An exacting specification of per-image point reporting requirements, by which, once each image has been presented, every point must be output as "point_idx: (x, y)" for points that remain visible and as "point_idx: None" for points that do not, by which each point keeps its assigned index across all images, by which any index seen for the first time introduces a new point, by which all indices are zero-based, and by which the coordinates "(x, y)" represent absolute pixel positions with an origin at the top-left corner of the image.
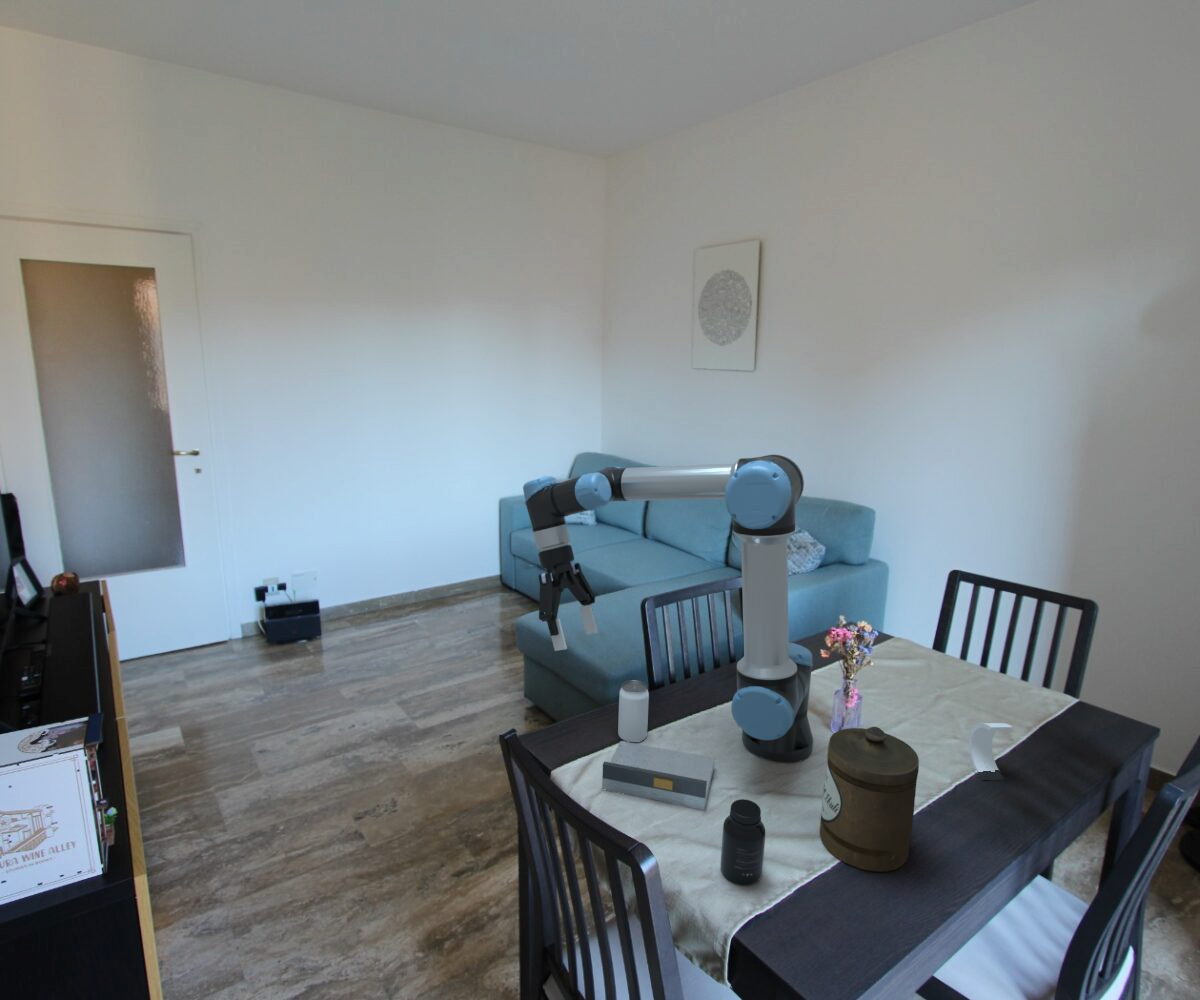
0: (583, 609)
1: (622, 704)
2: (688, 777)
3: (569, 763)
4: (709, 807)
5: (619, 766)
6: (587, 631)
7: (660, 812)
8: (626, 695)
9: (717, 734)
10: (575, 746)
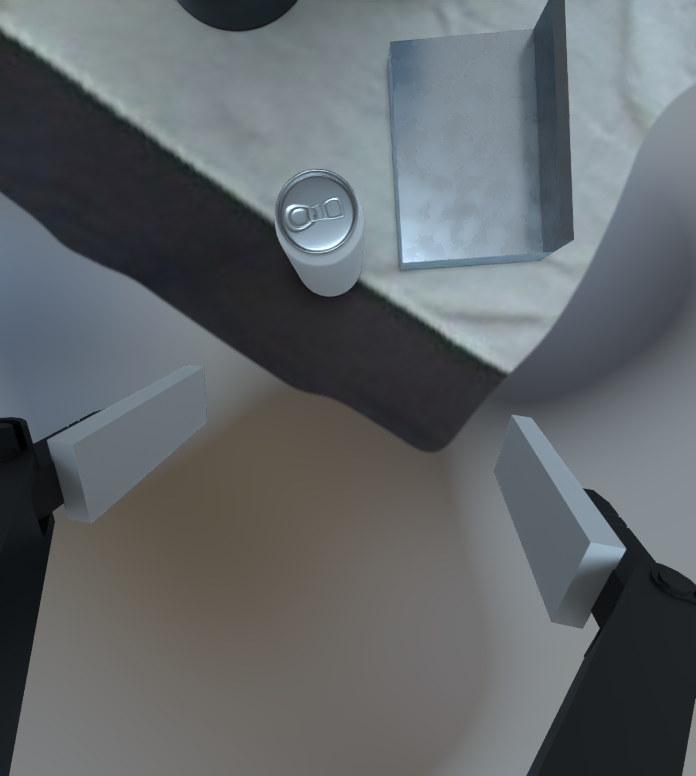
0: (105, 483)
1: (357, 254)
2: (554, 37)
3: (479, 353)
4: None
5: (569, 200)
6: (198, 418)
7: None
8: (359, 230)
9: (250, 87)
10: (416, 365)
